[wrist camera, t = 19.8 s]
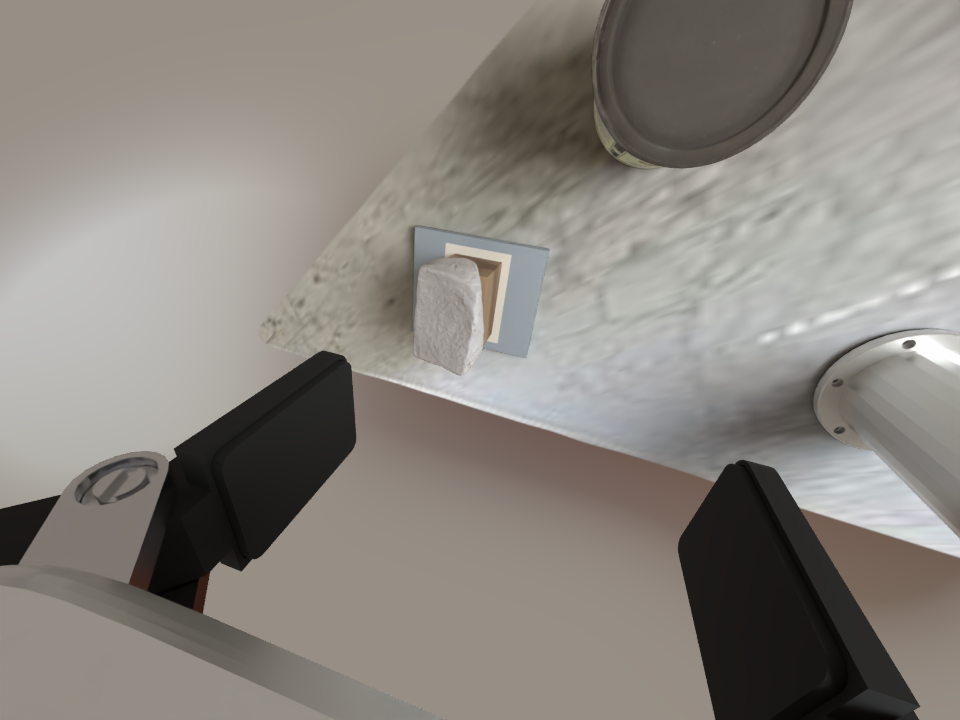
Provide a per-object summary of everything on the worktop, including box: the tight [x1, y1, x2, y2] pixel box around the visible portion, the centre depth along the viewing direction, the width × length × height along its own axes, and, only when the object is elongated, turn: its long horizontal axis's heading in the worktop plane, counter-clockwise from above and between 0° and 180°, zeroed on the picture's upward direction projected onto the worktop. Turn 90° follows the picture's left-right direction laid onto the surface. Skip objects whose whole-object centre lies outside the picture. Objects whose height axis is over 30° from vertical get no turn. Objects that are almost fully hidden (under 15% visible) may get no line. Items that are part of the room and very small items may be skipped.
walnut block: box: [449, 254, 502, 346], centre depth 36 cm, size 5×8×6 cm, turn 173°
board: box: [412, 226, 550, 358], centre depth 39 cm, size 14×12×1 cm
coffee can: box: [591, 0, 853, 169], centre depth 22 cm, size 10×10×14 cm
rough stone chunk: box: [413, 258, 484, 376], centre depth 32 cm, size 10×6×6 cm, turn 168°
